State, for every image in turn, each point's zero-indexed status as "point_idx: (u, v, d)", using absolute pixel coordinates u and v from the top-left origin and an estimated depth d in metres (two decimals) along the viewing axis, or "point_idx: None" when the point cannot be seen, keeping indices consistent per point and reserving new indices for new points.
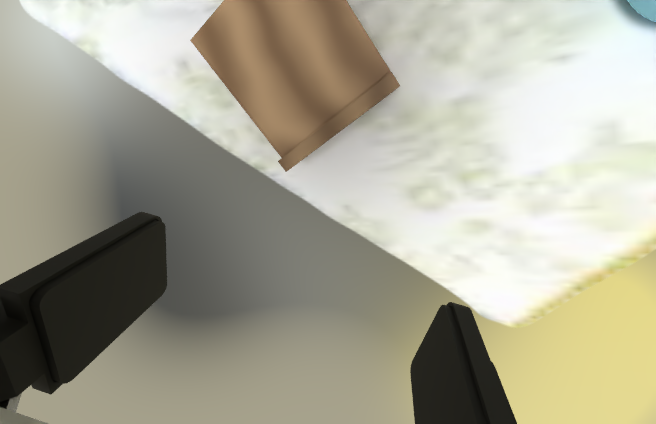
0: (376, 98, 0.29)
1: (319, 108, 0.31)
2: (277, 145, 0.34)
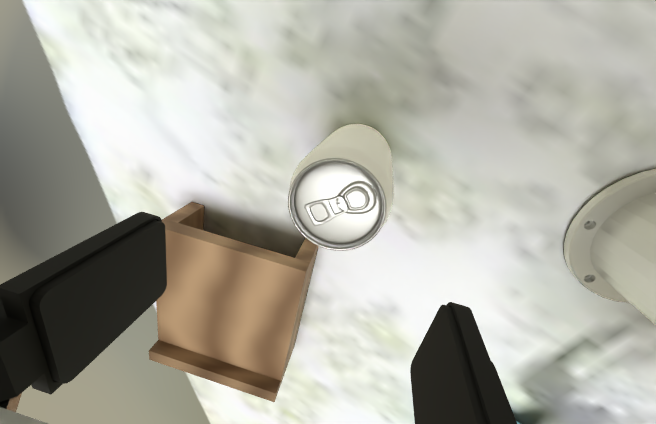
0: (253, 392, 0.32)
1: (215, 348, 0.32)
2: (162, 332, 0.33)
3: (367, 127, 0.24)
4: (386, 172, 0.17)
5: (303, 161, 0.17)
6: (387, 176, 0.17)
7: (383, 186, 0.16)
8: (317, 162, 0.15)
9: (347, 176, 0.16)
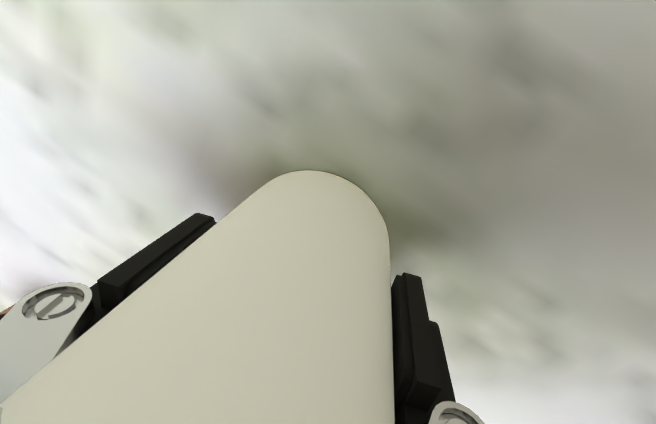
0: None
1: None
2: None
3: (330, 184, 0.10)
4: None
5: None
6: None
7: None
8: None
9: None
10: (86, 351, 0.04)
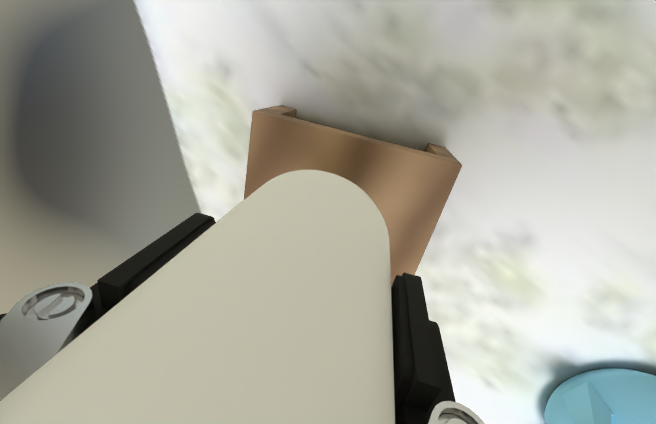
0: None
1: None
2: None
3: (330, 184, 0.10)
4: None
5: None
6: None
7: None
8: None
9: None
10: (83, 351, 0.04)
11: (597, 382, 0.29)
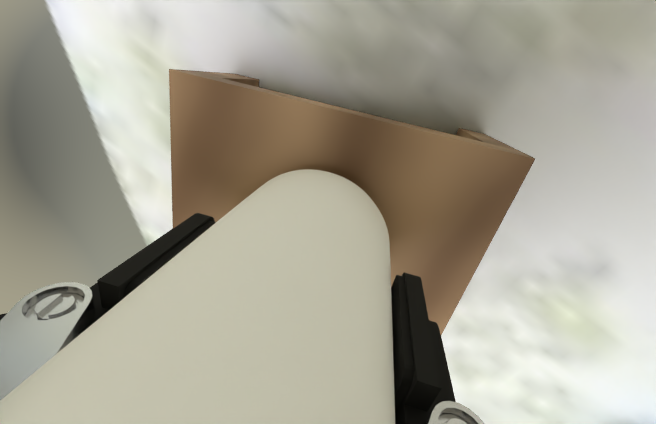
0: None
1: None
2: None
3: (331, 183, 0.10)
4: None
5: None
6: None
7: None
8: None
9: None
10: (84, 350, 0.04)
11: None
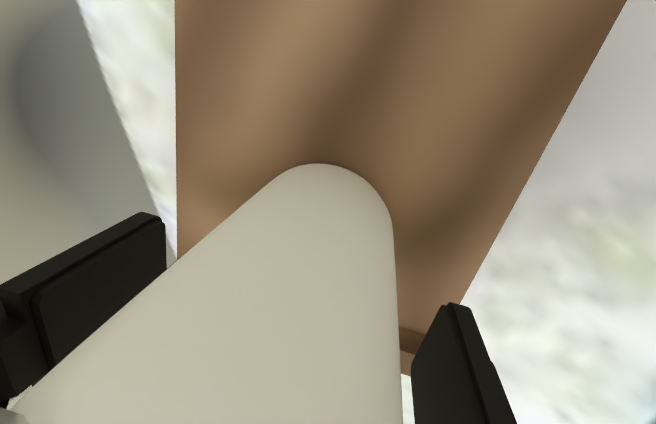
0: None
1: None
2: (186, 241, 0.16)
3: (338, 175, 0.11)
4: None
5: None
6: None
7: None
8: None
9: None
10: (148, 303, 0.05)
11: None
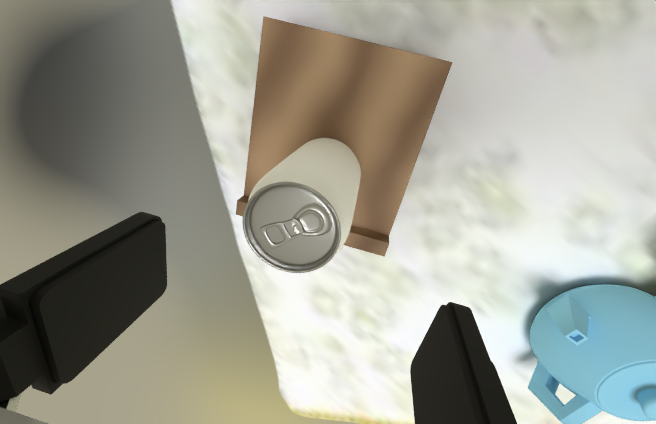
0: (360, 245, 0.28)
1: None
2: (250, 183, 0.29)
3: (334, 142, 0.24)
4: (342, 193, 0.16)
5: (258, 183, 0.17)
6: (343, 198, 0.16)
7: (338, 209, 0.16)
8: (269, 186, 0.15)
9: (300, 199, 0.16)
10: (284, 163, 0.18)
11: (577, 294, 0.32)
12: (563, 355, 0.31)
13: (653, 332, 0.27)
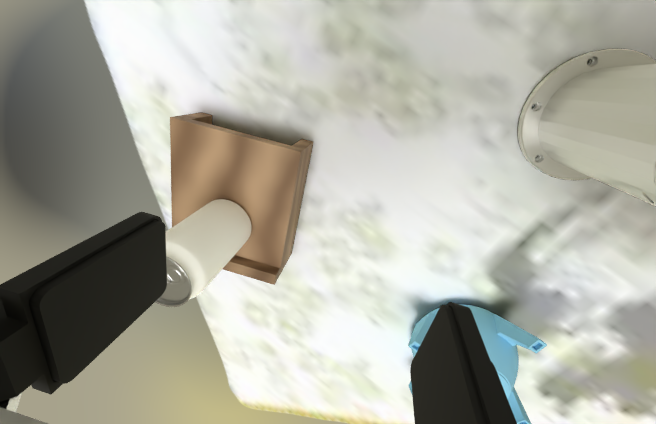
0: (256, 276, 0.37)
1: None
2: None
3: (225, 204, 0.33)
4: (196, 257, 0.25)
5: None
6: (196, 260, 0.25)
7: (189, 268, 0.25)
8: None
9: None
10: (165, 233, 0.27)
11: None
12: None
13: None
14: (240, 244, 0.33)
